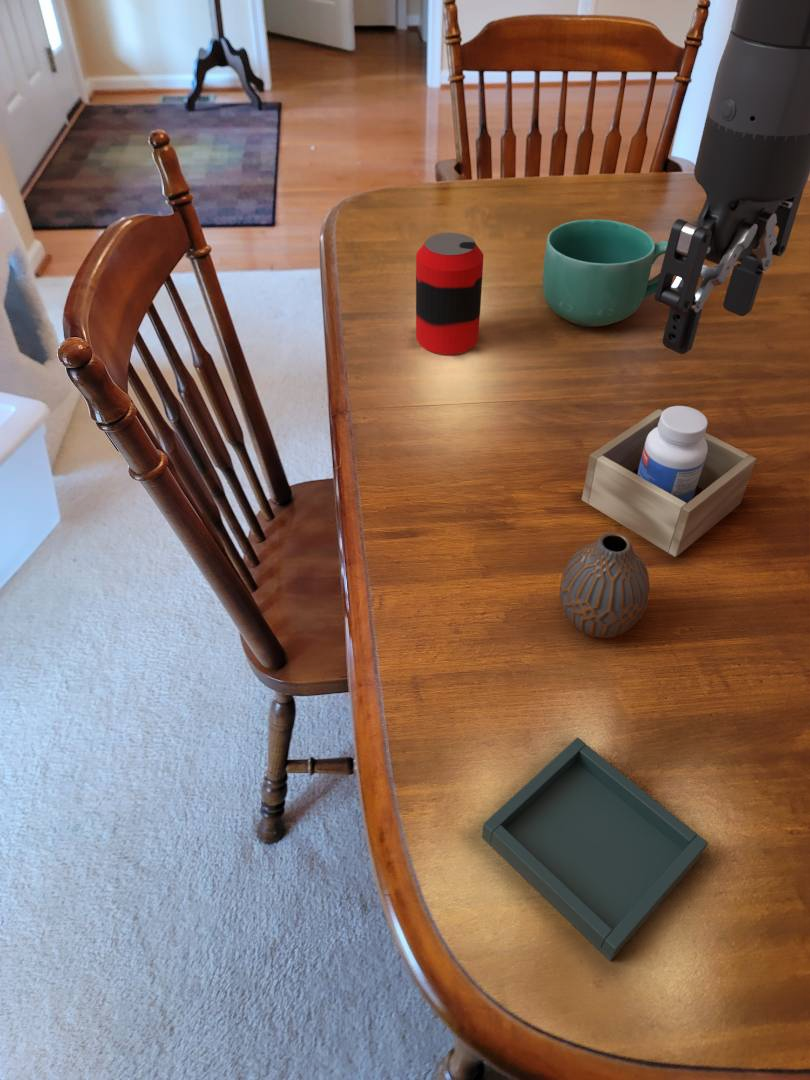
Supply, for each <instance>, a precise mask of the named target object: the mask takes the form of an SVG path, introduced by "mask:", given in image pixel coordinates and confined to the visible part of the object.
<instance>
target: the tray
mask: <svg viewBox="0 0 810 1080" xmlns="http://www.w3.org/2000/svg"><path fill="white" fill-rule="evenodd" d="M481 838H482V839H483V840H484V841H485V842H486V843H487V844H488V846H490V847H491V848H492V849H493V850H494V851H495V852H496V853H497V854H498V855H499V856H501V857H502V858H503V859H504V861H505V862H506V863H508V864H509V866H511V867H512V869H514V870H515V871H516V872H517V873H518V874H519V875H520V876H521V877H522V878H523V879H524V880H525V881H526V882H527V883H528V884H530V885H531V887H532V888H533V889H535V890H536V891H537V892H538V893H539V894H540V895H541V897H543V898H544V899H545V900H546V901H547V902H548V903H549V904H550V905H551V906H552V907H553V908H554V909H555V910H556V911H557V912H558V913H559V914H561V916H563V918H564V919H566V920H567V921H568V922H569V923H570V924H571V925H572V926H573V927H574V928H575V929H576V930H577V931H578V932H579V933H580V934H581V935H582V936H583V937H584V938H585V939H586V940H587V941H588V942H590V943H591V944H592V945H593V946H594V947H595V949H597V950H598V951H599V953H601V954H602V955H603V956H604V957H605V958H606V959H607V960H608V961H609V962H611V961H613V960H614V958H615V957H616V956H617V955H618V954H619V953H620V951H621V950H622V949H624V947H625V945H626V944H627V943H628V942H629V941H630V940H631V939H632V938H633V936H635V934H636V933H637V931H639V929H640V928H641V927H643V925H644V924H645V922H646V921H647V920H648V919H649V918H650V917H651V915H652V914H653V913H654V912H655V911H656V910H657V909H658V907H659V906H660V905H661V904H662V903H663V902H664V901H665V899H666V898H667V897H668V896H669V895H670V893H671V892H672V891H674V889H675V888H676V887H677V886H678V884H679V883H680V882H681V881H682V880H683V879H684V877H685V876H686V875H687V874H688V873H689V872H690V870H691V869H692V868H693V867H694V866H695V865H696V863H697V862H698V861H699V860H700V859H701V857H702V856H703V853H705V850H706V848H707V846H708V845H709V842H708V841H707V840H705V839H704V838H703V837H702V836H700V835H699V834H698V833H697V832H696V831H694V830H693V829H692V828H691V827H689V825H687V824H686V823H684V822H683V821H682V820H680V819H679V818H678V817H677V816H676V815H675V814H673V813H672V812H671V811H669V809H667V808H666V807H665V806H663V805H662V804H661V803H659V802H658V801H657V800H656V799H655V798H654V797H652V796H651V795H649V793H647V792H646V791H645V790H644V789H642V788H641V787H640V786H639V785H637V784H636V783H635V782H633V780H631V779H630V778H629V777H627V776H626V775H625V774H624V773H623V772H621V771H620V770H619V769H617V768H616V767H615V766H614V765H613V764H612V763H610V762H609V761H608V760H607V759H605V758H604V757H603V756H601V755H600V754H599V753H598V752H596V750H594V749H593V748H592V747H590V746H589V745H588V744H587V743H586V742H584V741H583V740H582V739H581V738H579V737H576V738H575V739H573V740H572V742H571V743H569V744H568V745H567V746H566V747H565V748H564V749H563V750H562V751H561V752H560V753H558V754H557V755H556V756H555V757H554V758H553V759H552V760H551V761H550V762H548V763H547V764H546V766H545V767H543V768H542V769H541V770H540V771H539V772H537V773H536V775H535V776H533V777H532V778H531V779H530V780H529V781H528V782H527V783H526V784H525V785H524V786H522V788H520V789H519V790H518V791H517V792H516V793H515V794H514V795H513V796H512V797H511V798H509V800H507V801H506V802H505V803H504V804H503V805H502V806H501V807H499V809H498V810H497V811H495V812H494V813H493V814H492V815H491V816H490V817H489V818H488V819H487V820H485V822H483V824H482V833H481Z"/></svg>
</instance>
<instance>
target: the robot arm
mask: <svg viewBox="0 0 810 1080" xmlns="http://www.w3.org/2000/svg"><path fill="white" fill-rule="evenodd" d="M731 22H732V23H731V27H730V28H731V29H730V30H729V34H728V38H727V40H726V44H725V47H724V49H723V53H722V55H721V57H720V61H719V63H718V67H717V70H716V74H715V78H714V82H713V86H712V91H711V95H710V100H709V104H708V109H707V113H706V117H705V122H704V124H703V125H704V126H703V130H702V135H701V139H700V143H699V147H698V151H697V156H696V159H695V165H694V170H693V175H694V178H695V181H696V182H697V183H698V185H700V186H701V187H702V190H703V191H704V193H705V196H706V199H705V200H704V203H703V206H702V208H701V211H700V212H699V215H698V216H697V219H696V220H695V221H693V222H690V221H687V220H684V219H681V218H677V219H676V220H675V221H674V222H673V224H672V227H671V230H670V233H669V237H668V240H667V241H668V244H667V248H666V252H665V253H664V255H663V261H662V265H661V268H660V272H659V273H660V276H659V280H658V284H657V288H656V292H655V293H654V295H653V296H654V297H653V299H654V301H655V302H657V303H660V304H662V305H664V306H667V307H669V311H668V315H667V319H666V324H665V327H664V333H663V336H662V344H663V346H664V347H665V348H667V349H669V350H670V351H673V352H675V353H677V354H680V355H685V354H686V353H688V352H689V351H691V350H692V348H693V346H694V341H695V337H696V334H697V330H698V327H699V323H700V319H701V315H702V311H703V307H704V305H705V303H706V301H707V300H708V298H709V296H710V294H711V292H712V291H713V289H714V288H715V287H716V286H720V285H722V284H723V283H725V281H726V280H727V278H728V276H729V274H730V272H731V274H730V278H729V282H728V285H727V289H726V293H725V295H724V298H723V302H722V306H723V308H724V310H726V311H728V312H730V313H732V314H735V315H737V316H740V317H744V316H746V315H748V314H750V313H751V312H752V310H753V306H754V303H755V300H756V297H757V294H758V292H759V291H758V290H759V287H760V284H761V282H762V278H763V275H764V272H767V271H768V270H769V269H770V267H771V266H772V263H773V260H774V256H776V257H782V255H783V254H784V253H785V252H786V250H787V247H788V244H789V240H790V236H791V233H792V229H793V227H794V223H795V220H796V216H797V213H798V210H799V206H800V203H801V200H802V197H803V194H804V190H805V187H806V185H807V183H808V180H809V177H810V0H736V5H735V8H734V13H733V18H732V21H731ZM776 227H778V233H777V235H776ZM705 260H706V261H707V262H711V263H713V264H716V266H713V267H712V266H708V265H706V264H705ZM737 262H739V263H737ZM674 275H675V276H674ZM674 277H676V278H675V279H674ZM700 279H702V281H701V283H700V285H699V287H698V284H699V280H700Z"/></svg>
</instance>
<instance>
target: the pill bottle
mask: <svg viewBox="0 0 810 1080" xmlns="http://www.w3.org/2000/svg"><path fill="white" fill-rule="evenodd" d="M662 411H663V412H662V414H661V417H660V420H659V423H658V427H656V428H654V429H653V430H652V431H651V432H650V433H649V434H648V436H647V439H646V442H645V445H644V449H643V453H642V457H641V461H640V465H639V468H637V474H636V475H638V476H640V477H641V478H643V479H645V480H647V481H649V482H650V483H652V484H654V485H656V486H657V487H659V488H661V489H663V490H664V491H666V492H668V493H670V494H671V495H673V496H675V497H677V498H678V499H680V500H682V501H684V502H686V503H688V502H690V501H691V500H692V499H693V498H694V497H695V492H696V489H697V487H698V486H697V483H698V480H699V477H700V474H701V471H702V468H703V465H704V462H705V459H706V455H707V450H708V447H707V442H706V440H705V438H704V436H705V433H707V432H706V431H707V428H708V423H709V422H708V418H707V417H706V416H705V414H704V413H702V412H701V411H700V410H698V409H696V408H693V407H691V406H685V405H674V406H669V407H667V408H665V409H663V410H662Z"/></svg>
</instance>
